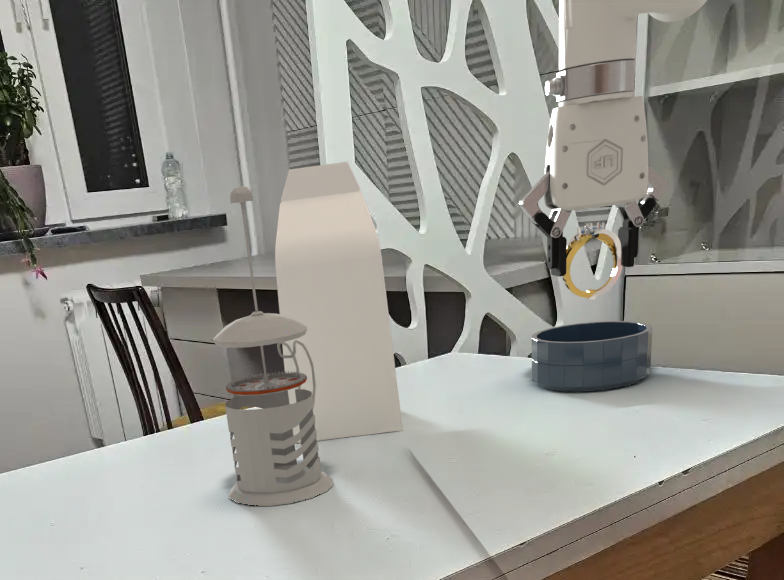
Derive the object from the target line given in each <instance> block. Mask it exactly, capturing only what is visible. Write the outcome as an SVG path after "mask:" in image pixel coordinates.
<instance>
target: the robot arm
mask: <svg viewBox="0 0 784 580" xmlns="http://www.w3.org/2000/svg"><path fill="white" fill-rule="evenodd" d="M707 1H708V0H558V2H559V3H558V72H557V73H556V76H555V77H554V78H553V79H550V80H546V81H545V86H544V92H545V95H546V96H553V97H555V99H556V102H557V103H558V107H554V108H552V110H551V116H550V119H549V127H548V133H547V134H548V135H547V141H546V148H545V149H546V150H545V160H544V173H543V176H542V177H541V178H539V180H538V181H536V183H535V184H534V186H532V187H531V188H530V189H529V191H528V192H527V193H526V194H524V196H523V197H521V199H520V200H519V203H518V205H519V208H520V209H521V210H522V211H523V213H524V214H525V215H526V216H527V218H529V220H530V221H531V223H532V224H533V225H534V226H535V227H536V228H537V229H538V230H539V231H541V233H542V234H543V236H544V237H545V238H546V246H547V248H546V265H547V269H548V270H550V275H552V276H555V277H562V276H564V275H566V256H567V243H568V240H567V238H566V236H564V229H565V227H566V225H567V223H568V220H569V218H570V216H571V214H572V211H579V210H588V209H595V208H602V207H611V206H615V208H616V210H617V212H618V214H619V216H620V218H621V222H622V226H620V227H619V228H618V230H617V236H618V238H619V240H620V242H621V245H622V250H623V267H625V268H633V267H634V266H635V258H637V257H638V255H639V238H640V227H641V226H643V224H644V223H645V220H646V218H647V217H648V216H649V215H650V214H651V213H652V211H653V210H654V209H655V207H656V205H657V203H658V202H659V201H660V200H661V198H662V197H663V196H664V194H665V193H666V191H667V190H668V188H669V185H670V183H669V181H668V180H667V179H665V177H663V176H662V175H661V174H660V173H659V172H658V171H656V170H655V169H654V168H653V167H652V166H650V165H649V146H648V145H649V143H648V141H649V140H648V129H647V128H648V127H647V118H646V110H645V102H644V97H643V96H642V95H637V96H635V85H636V84H635V82H636V58H637V57H636V55H637V53H636V52H637V31H638V28H637V27H638V17H639V15H641V14H648V15H649V16H651V17H652V18H653V19H655V20H657V21H660V22H664V23H674V22H675V23H676V22H679V21H683V20H685V19H688V18H689V17H691V16H693V15H695V13H696V12H698V11H699V10H700V9H701V8H702V7H703V6H704V5H705V4H706V3H707ZM542 198H543V199H544V204H545V206H546V207H547V208H548V209H550V210H551V211H550V214H549V216H548V215H547V214H546V213H544V211H542V210H541V208H540V206H539V202H540V200H541V199H542ZM637 201H638V202H637Z"/></svg>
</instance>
